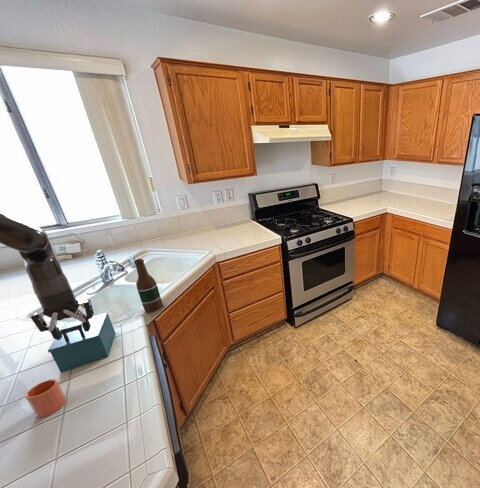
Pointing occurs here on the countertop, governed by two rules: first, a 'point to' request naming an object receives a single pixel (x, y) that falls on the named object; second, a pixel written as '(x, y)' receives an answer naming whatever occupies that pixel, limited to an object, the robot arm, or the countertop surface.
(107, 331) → the box
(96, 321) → the lid
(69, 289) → the robot arm
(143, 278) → the beer bottle
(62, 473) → the countertop surface
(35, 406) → the cup
